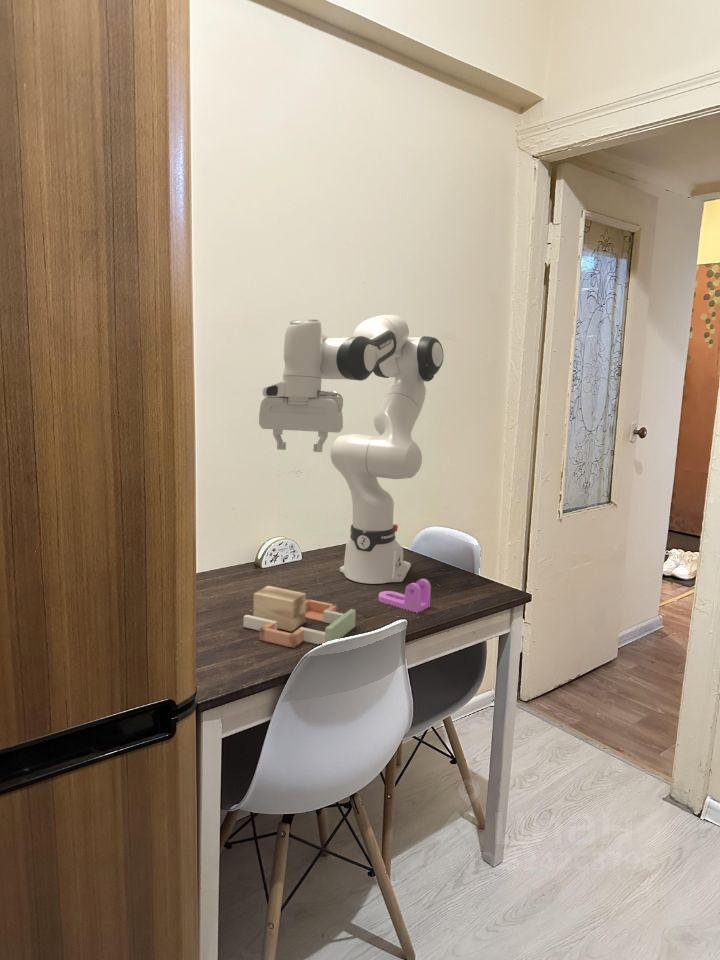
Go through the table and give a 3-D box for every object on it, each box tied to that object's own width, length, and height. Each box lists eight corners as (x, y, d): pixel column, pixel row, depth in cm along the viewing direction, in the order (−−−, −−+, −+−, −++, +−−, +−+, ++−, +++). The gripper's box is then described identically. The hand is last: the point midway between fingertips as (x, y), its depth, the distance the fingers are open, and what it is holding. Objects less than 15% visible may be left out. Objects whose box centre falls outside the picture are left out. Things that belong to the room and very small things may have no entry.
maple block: (267, 614, 159) (268, 585, 158) (305, 622, 155) (305, 593, 154) (253, 622, 154) (253, 593, 153) (291, 632, 150) (292, 601, 148)
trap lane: (281, 603, 166) (282, 587, 165) (362, 620, 157) (363, 604, 156) (232, 633, 148) (232, 615, 147) (320, 654, 139) (321, 636, 138)
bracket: (429, 607, 167) (431, 580, 166) (417, 613, 163) (418, 586, 161) (387, 594, 175) (388, 568, 173) (373, 600, 170) (375, 573, 169)
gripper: (348, 392, 154) (346, 453, 156) (270, 390, 162) (268, 448, 163) (337, 390, 149) (334, 453, 150) (256, 388, 156) (254, 448, 157)
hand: (299, 450), depth 157 cm, fingers open, 8 cm apart
